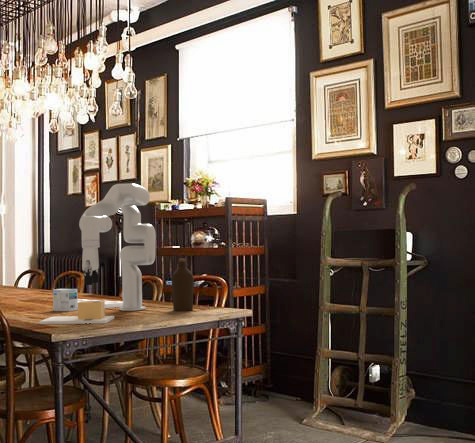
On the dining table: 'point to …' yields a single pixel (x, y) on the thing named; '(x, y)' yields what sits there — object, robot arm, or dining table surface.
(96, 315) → the tan rectangular block
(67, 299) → the light bulb box
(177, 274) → the olive oil
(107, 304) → the holder
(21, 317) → the dining table surface
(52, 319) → the white flat panel
